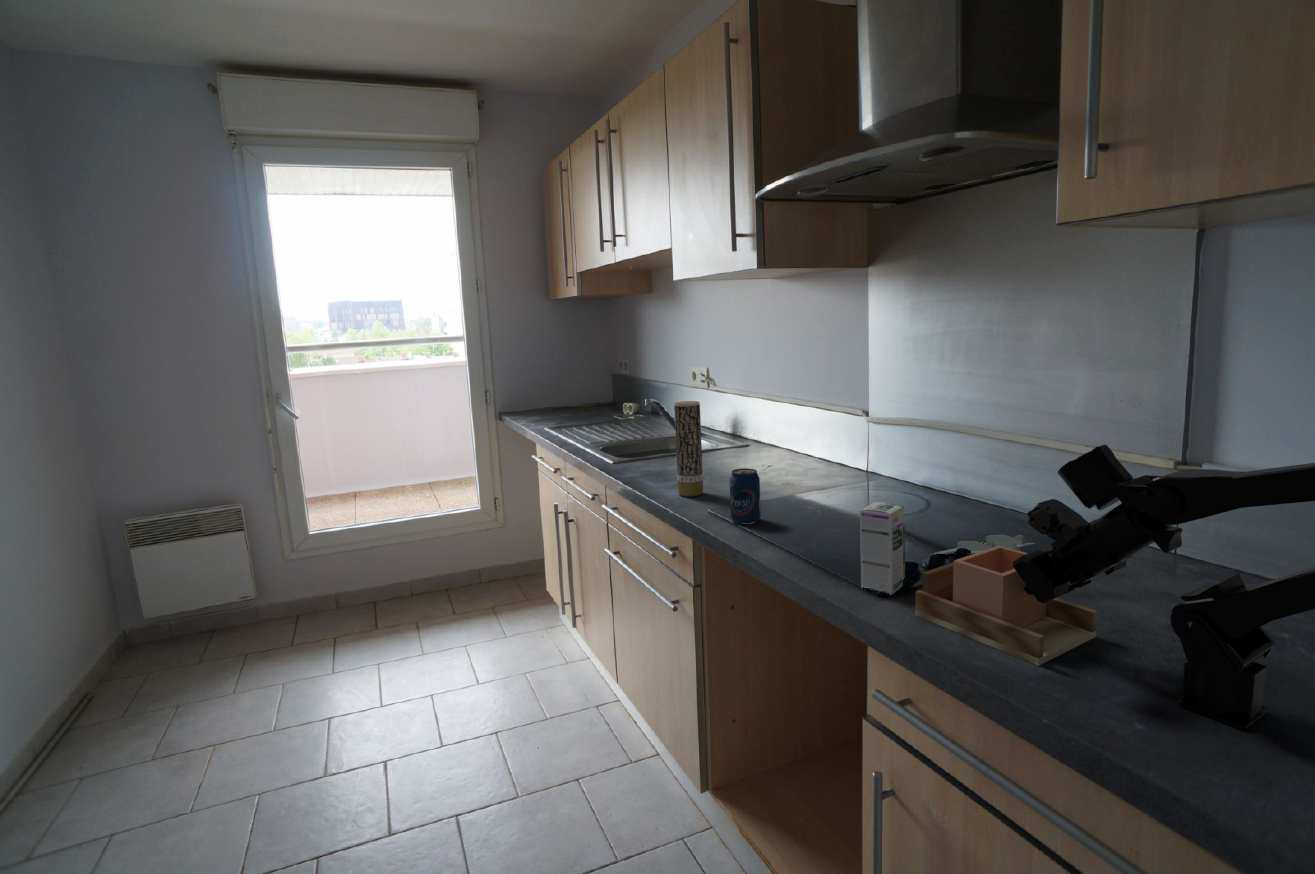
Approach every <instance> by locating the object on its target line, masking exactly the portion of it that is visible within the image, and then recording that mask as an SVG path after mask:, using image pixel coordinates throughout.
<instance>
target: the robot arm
mask: <svg viewBox="0 0 1315 874" xmlns="http://www.w3.org/2000/svg"><path fill="white" fill-rule="evenodd" d="M1057 474H1058V475H1059V477H1060V478H1061V479H1062V481H1063V482H1064V483H1065V484H1066V486H1067V487H1068V488H1069V489H1070V490H1071V491H1072V493H1073V494H1074V495H1075V496H1076V497H1077V499H1078V500H1079V502H1081V504H1082V505H1083V506H1084V507H1085V508H1088V510H1090V509H1092V508H1094V507H1095V508H1096V509H1097V510H1098V511H1102V510H1104V509H1106V508H1108V507H1111V506H1112V505H1115V504H1116V503H1118V502H1119V501H1120V503H1119V504H1118V505H1117V506H1115V507H1114V508H1112V509H1110V510H1109V511H1108V512H1106V513H1104V514H1103V515H1102V516H1100V517H1099V518H1096V519H1094V520H1092V521H1090V522H1089V521H1088V520H1086V519H1085V518H1084V517H1083V516H1082V515H1081V514H1080V513H1078V512H1077V511H1075V510H1074V509H1073V508H1071V507H1069V506H1068V505H1066V504H1065V503H1063V502H1062V501H1060V500H1058V499H1056V498H1051V499H1047V500H1044V501H1040V502H1038V503H1037V505H1036V506H1034V507H1033V509H1031V510H1029V511H1028V512H1027V517H1028V518H1027V522H1028V525H1029V526H1030V527H1031V528H1033V529H1034V530H1035V531H1037V532H1038V533H1040V534H1041V535H1045V536H1047V537H1048V538H1050V540H1051V539H1052V540H1054V541H1053V542H1052V543H1050V546H1051V547H1052V549H1051V553H1050V554H1049V553H1048V552H1047V551H1046V550H1045V551H1042V550H1038V549H1037V550H1034V551H1031V552H1027V553H1028V554H1025V555H1022V556H1021V557H1019V558H1018V559H1016V560H1015V561H1014V562H1013V567H1014V569H1015V570H1016V572H1017V573H1018V574H1019V576H1020V577H1021V578H1022V580H1023V581H1024V583H1025V584H1026V586H1025V588H1024V590H1025V591H1026V593H1027V594H1028V595H1034V596H1035V598H1036V599H1037V601H1039V602H1041V603H1043V604H1044V603H1046V602H1048V601H1051V600H1053V599H1055V598H1059V597H1061V596H1063V595H1066V594H1069V593H1070V592H1073V591H1075V590H1076V589H1077V588H1078V589H1079V588H1083V587H1084V586H1087V585H1089V584H1091V583H1092V579H1094V578H1097V577H1100V576H1102V575H1104V577H1109V576H1111V575H1114V574H1115V573H1117V572H1119V571H1121V570H1122V569H1124V568H1126V567H1127V561H1128V560H1129V559H1131V558H1133V556H1134V555H1135V554H1137V553H1138V552H1140V551H1141V550H1143V549H1145V548H1147V547H1148V546H1150V545H1152V544H1153V543H1155V545H1157V547H1158V548H1159V550H1160V551H1161V552H1163V553H1164V554H1167V553H1171V552H1173V551H1174V550H1177V549H1179V548H1182V545H1183V544H1182V543H1183V541H1182V532H1183V527H1178V526H1177V527H1176V525H1181V524H1186V523H1188V522H1194V521H1197V520H1201V519H1205V518H1208V517H1213V516H1216V515H1219V514H1223V513H1226V512H1230V511H1235V510H1238V509H1243V508H1245V509H1246V508H1254V507H1265V506H1266V507H1267V506H1277V505H1284V504H1285V505H1286V504H1287V505H1289V504H1297V503H1308V502H1309V503H1310V502H1315V462H1309V463H1302V464H1294V465H1287V466H1286V465H1285V466H1279V467H1278V466H1277V467H1270V468H1264V469H1263V468H1262V469H1257V470H1256V469H1255V470H1247V471H1240V470H1239V471H1238V470H1237V471H1235V470H1234V471H1233V470H1223V469H1212V468H1211V469H1210V468H1209V469H1208V468H1206V469H1204V468H1203V469H1200V468H1196V469H1195V468H1194V469H1193V468H1186V469H1180V470H1177V471H1174V472H1171V473H1168V474H1164V475H1150V474H1149V475H1148V474H1146V475H1141V476H1138V477H1134V476H1133V475H1132V474H1131V473H1130V472H1129V471H1128V470H1127V469H1126V468H1125V467H1124V466H1123V464H1122V463H1121V461H1119V460H1118V458H1117V457H1116V456H1115V454H1114V451H1112V449H1111V448H1110V447H1109V446H1108V444H1103V445H1098V446H1095V447H1094V448H1093V449H1091V450H1089V451H1087V452H1086V453H1084V454H1082V455H1080V456H1078V457H1076V458H1075V459H1072V460H1069V461H1068V462H1067V463H1065V464H1063V465H1062V466H1061V467H1060V468H1059V469H1058V471H1057ZM1180 599H1181V600H1182V601H1183V602H1180V603H1178V604H1177V605H1175V606H1174V607H1173V608H1172V609H1171V614H1170V618H1169V619H1170V624H1171V627H1172V629H1173V632H1174V634H1175V635H1176V636H1177V637H1178V638H1179V640H1180V643H1181V646H1182V649H1183V652H1184V656H1185V659H1186V661H1185V662H1184V664H1183V674H1182V675H1183V676H1182V684H1181V685H1182V689H1181V693H1182V695H1184V696H1183V697H1182V698H1181V699H1179V702H1178V703H1179V705H1180V706H1182V707H1184V708H1187V709H1189V710H1192V711H1194V712H1197V713H1199V714H1202V715H1205V716H1207V717H1210V718H1211V719H1213V720H1214V719H1215V720H1217V721H1219V722H1222V723H1225V724H1227V725H1230V726H1233V727H1235V728H1237V729H1240V730H1247V729H1248V728H1249V727H1250V726H1252V725H1253V724H1254V723H1256V722H1257V721H1258V720H1260V719H1261V718H1262V717H1263V716H1264V715H1266V714H1267V713H1268V712H1269V711H1268V710H1269V709H1268V707H1267V706H1264V705H1263V697H1264V690H1265V689H1264V688H1265V680H1266V671H1267V670H1266V669H1267V666H1266V665H1264V664H1261V663H1259V661H1261V660H1263V659H1265V658H1267V657H1269V655H1270V654H1271V653H1272V651H1273V649H1274V648H1275V646H1276V643H1275V641H1274V640H1273V638H1271V637H1270V636H1269V634H1268V633H1266V631H1265V630H1264V628H1262V627H1264V626H1265V625H1267V624H1269V623H1270V622H1273V621H1276V620H1279V619H1280V620H1281V619H1283V618H1287V617H1290V616H1293V615H1297V614H1301V613H1305V612H1308V611H1313V610H1315V566H1312V567H1309V568H1305V569H1304V570H1299V571H1297V572H1293V573H1289V574H1288V575H1283V576H1281V577H1277V578H1274V579H1272V580H1269V581H1266V582H1261V583H1244V581H1243V579H1242V576H1241V575H1240V573H1238V572H1237V573H1235V574H1234V575H1231V576H1229V577H1227V578H1226V579H1223V580H1222V581H1220V582H1212V583H1211V582H1207V583H1205V584H1203V585H1200V586H1199V587H1197V588H1194V589H1193V590H1191V591H1188V592H1187V593H1185V594H1182V595H1180Z"/></svg>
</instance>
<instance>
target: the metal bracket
mask: <svg viewBox="0 0 1315 874" xmlns="http://www.w3.org/2000/svg"><path fill="white" fill-rule="evenodd" d="M985 540H986V541H985V542H986V543H984V542H979V541H976V540H960V541H958V542H957V547H956V548H950V549H946V550H941V551H937V552H934V553H933V554H934V555H935V554H945V556H946V555H947V556H948V555H951V554H955V553H954V552H955V551H956V550H957V549H959V548H966V549H968V550H970V551H971V553H970V554H975V553H978V552H981V551H984V550H987V549H990V548H993V547H995V546H998V545H999V546H1003V547H1007V548H1010V549H1014V550H1017V551H1021V548H1024V547H1027V546H1031V545H1032V546H1033V545H1035V544H1036V543H1035V542H1026V541H1025V537H1024V535H1022V534H1018V535H1015V536H1014V537H1013V536H1008V535H1005V534H989V535H986V537H985ZM987 541H988V542H987ZM983 543H984V544H983ZM1021 552H1022V551H1021Z"/></svg>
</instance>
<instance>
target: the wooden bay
mask: <svg viewBox="0 0 1315 874" xmlns="http://www.w3.org/2000/svg"><path fill="white" fill-rule="evenodd" d="M953 568H954V561H953V562H950V563H947V564H944V565H941V566H938V567H935V568H933V569H930V570H927V571H923V572H922V589H919V590H916V591H915V603H914V604H915V606H914V607H915V609H914V610H915V611H914V614H915V616H916V617H918V618H921V619H923V620H925V621H928V622H931V623H932V624H935V625H938V626H941V627H943V628H945V629H947V630H949V631H953V632H955V633H957V634H960V635H963V636H965V637H968V638H969V639H972V640H975V641H976V642H979V643H982V644H984V645H987V646H988V647H991V648H994V649H996V650H999V651H1002V652H1004V653H1007V654H1009V655H1011V656H1013V657H1016V658H1019V659H1021V660H1023V661H1026V662H1029V663H1030V664H1034V665H1036V666H1041V665H1043V664H1045V663H1047V662H1049V661H1051V660H1053V659H1054V658H1057V657H1059V656H1061V655H1063V654H1065V653H1067V652H1069V651H1071V650H1073V649H1074V648H1077V647H1079V646H1080V645H1083V644H1084V643H1087V642H1088V641H1091V640H1092V639H1095V638H1096V635H1097V620H1098V618H1097V617H1098V611H1097V610H1095V609H1091V608H1089V607H1086V606H1083V605H1079V604H1077V603H1074V602H1070V601H1067V600H1064V599H1060V598H1059V597H1057V598H1055V599H1053V600H1051V601H1048V602H1047V606H1046V617H1043V618H1041V619H1039V620H1037V621H1034V622H1032V623H1030V624H1028V625H1025V626H1023V627H1019V626H1016V625H1013V624H1011V623H1008V622H1005V621H1003V620H1000V619H997V618H995V617H992V616H989V615H986V614H984V613H981V612H978V611H976V610H973V609H970V608H967V607H965V606H962V605H959V604H957V603H954V602H953Z"/></svg>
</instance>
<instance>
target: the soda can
mask: <svg viewBox="0 0 1315 874" xmlns="http://www.w3.org/2000/svg"><path fill="white" fill-rule="evenodd" d="M760 484H761V483H760V476H759V475H758V471H757V470H756V469H754V468H737V469H733V470H731V475H730V477H729V504H730V505H729V506H730V507H729V508H730V518H731V520H732V521H733V522H734V523H735V522H737V523H751V522H757V521H758V522H759V520H760V518H761V485H760ZM758 522H757V523H758Z"/></svg>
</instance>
